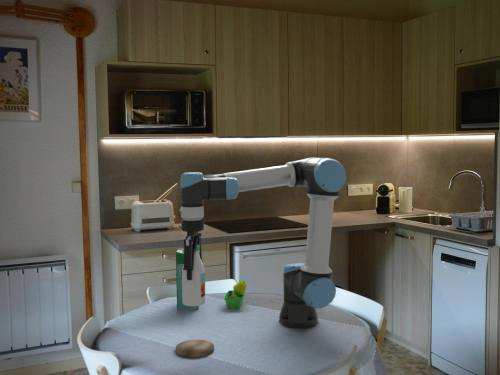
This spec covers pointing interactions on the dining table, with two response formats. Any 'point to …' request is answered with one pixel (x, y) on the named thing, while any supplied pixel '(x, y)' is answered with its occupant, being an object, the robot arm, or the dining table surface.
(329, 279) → the robot arm
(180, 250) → the milk carton
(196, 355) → the disc
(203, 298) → the milk bottle
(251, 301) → the dining table surface
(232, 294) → the green pot with sprout
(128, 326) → the dining table surface
